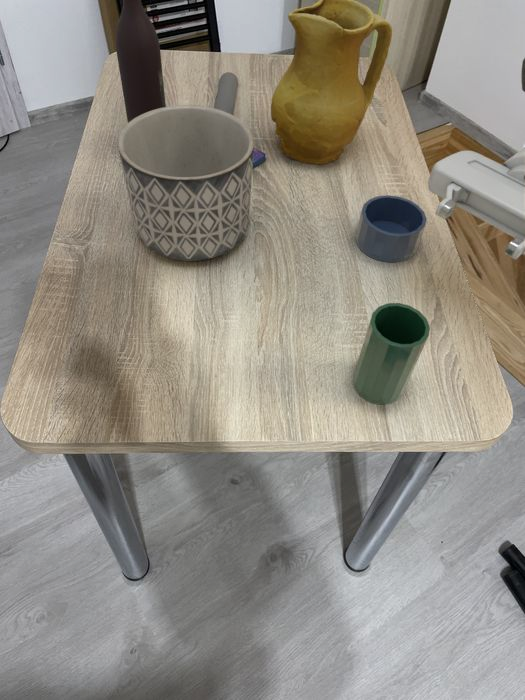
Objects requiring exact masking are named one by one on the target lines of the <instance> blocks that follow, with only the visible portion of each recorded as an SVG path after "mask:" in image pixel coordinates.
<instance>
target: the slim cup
mask: <svg viewBox="0 0 525 700" xmlns="http://www.w3.org/2000/svg"><path fill="white" fill-rule="evenodd" d="M430 330H431V327H430V324H429V321H428V319H427V318H426V317H425V315H424V314H423V313H422V312H421V311H420V310H418V309H416V308H415V307H413V306H411V305H408V304H405V303H401V302H390V303H388V302H387V303H385V304H383V305H380V306H377V308H375V310H374V311H373V312H372V313H371V317H370V320H369V323H368V326H367V329H366V333H365V336H364V339H363V342H362V346H361V348H360V353H359V355H358V359H357V362H356V365H355V368H354V372H353V375H352V385H353V387H354V389H355V391H356V393H357V394H358V395H359V396H360V397H361V398H362V399H363V400H366V401H367V402H369V403H371V404H375V405H389V404H392V403H395V402H397V400H399V399H400V398H401V397H402V395H403V393H405V390H406V388H407V386H408V383H409V381H410V379H411V377H412V374H413V372H414V369H415V367H416V366H417V364H418V361H419V358H420V356H421V354H422V352H423V350H424V348H425V345H426V343H427V341H428V339H429V335H430V332H431V331H430Z"/></svg>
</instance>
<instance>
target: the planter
mask: <svg viewBox="0 0 525 700" xmlns="http://www.w3.org/2000/svg"><path fill="white" fill-rule="evenodd" d="M254 148H255V137H254V134H253V133H252V130H251V129H250V128H249V126H248V125H247V124H246V123H245V122H244V121H243V120H241V119H240V118H238V117H237V116H235V115H234V114H233V115H231V114H229V113H227V112H224V111H221V110H218V109H214V107H210V106H205V105H194V104H193V105H192V104H181V105H179V104H178V105H169V106H166V107H163V108H159V109H155V110H152V111H149V112H146V113H144V114H141V115H139V116H138V117H136V118H134V119H133V120H131V121H130V122H129V123H128V122H127V123H126V124H125V125H124V126H123V128H122V129H121V131H120V133H119V134H118V137H117V149H118V152H119V153H118V154H119V158H120V164H121V168H122V173H123V177H124V182H125V186H126V191H127V192H126V193H127V196H128V201H129V207H130V210H131V211H130V212H131V216H132V219H133V225H134V228H135V232H136V234H137V237H138V238H139V240H140V241H141V243H142V244H144V245H145V247H147V248H148V249H149V250H151V251H152V252H154V253H156V254H158V255H160V256H162V257H165V258H169V259H172V260H178V261H184V262H185V261H186V262H187V261H189V262H191V261H194V262H195V261H205V260H210V259H213V258H217V257H219V256H222V255H224V254H226V253H228V252H230V251H232V250H234V249H235V248H236V247H237V246H238V245H239V244H240V243H241V242H242V241H243V239H244V238H245V236H246V235H247V233H248V230H249V225H250V215H251V214H250V212H251V211H250V210H251V197H252V184H253V183H252V181H253V168H254V167H253V153H254Z"/></svg>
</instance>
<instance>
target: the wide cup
mask: <svg viewBox="0 0 525 700" xmlns="http://www.w3.org/2000/svg"><path fill="white" fill-rule="evenodd" d="M425 213H426V212H425V211H424V210H423V209H422V208H421V207H420V206H419V205H418V204H417V203H415V202H414V201H412V200H410V199H408V198H404V197H401V196H399V195H398V196H397V195H390V194H388V195H387V194H386V195H377V196H375V197H371V198H369V199H368V200H367V201H366V202H365V203H364V204H363V206H362V208H361V211H360V215H359V220H358V224H357V229H356V232H355V242H356V244H357V247H358V248H359V249H360V251H361V252H363V253H364V254H365V255H367V256H368V257H369V258H371V259H373V260H376V261H379V262H383V263H401V262H404V261H407V260H409V259H411V258H412V257H413V256H414V255H415V254H416V252H417V250H418V247H419V244H420V242H421V239H422V237H423V233H424V231H425V228H426V224H427V221H428V220H427V216H426V214H425Z"/></svg>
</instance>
